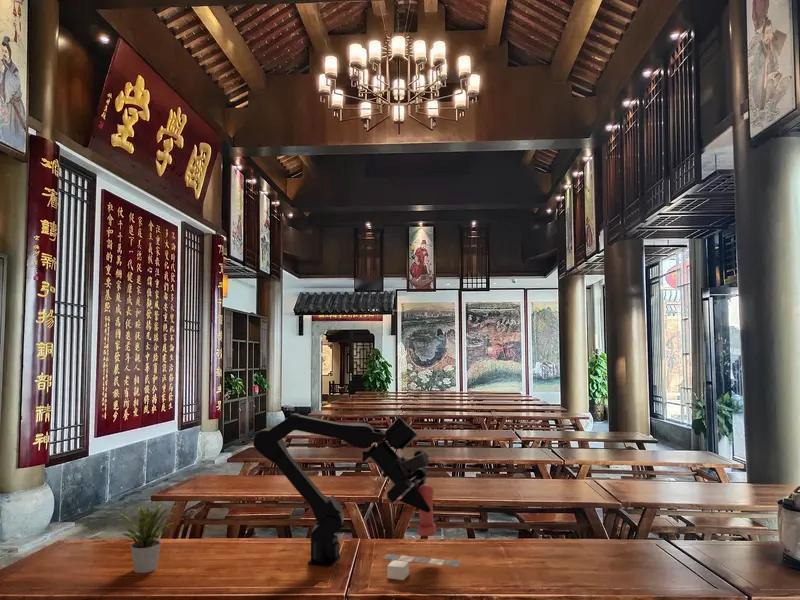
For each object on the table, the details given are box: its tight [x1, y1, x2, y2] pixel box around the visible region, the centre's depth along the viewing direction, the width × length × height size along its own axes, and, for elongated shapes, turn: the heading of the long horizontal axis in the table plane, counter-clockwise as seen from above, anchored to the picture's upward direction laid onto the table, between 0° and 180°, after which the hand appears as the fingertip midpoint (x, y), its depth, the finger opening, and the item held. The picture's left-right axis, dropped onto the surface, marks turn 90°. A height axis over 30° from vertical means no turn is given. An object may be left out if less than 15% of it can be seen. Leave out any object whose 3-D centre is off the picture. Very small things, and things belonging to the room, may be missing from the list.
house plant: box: [118, 502, 178, 574], centre depth 156 cm, size 14×14×16 cm
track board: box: [382, 553, 462, 567], centre depth 157 cm, size 20×8×1 cm, turn 71°
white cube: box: [386, 559, 410, 581], centre depth 146 cm, size 4×4×4 cm
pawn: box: [416, 483, 437, 537], centre depth 158 cm, size 5×5×12 cm
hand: (431, 509), depth 157 cm, fingers closed on pawn, 3 cm apart
